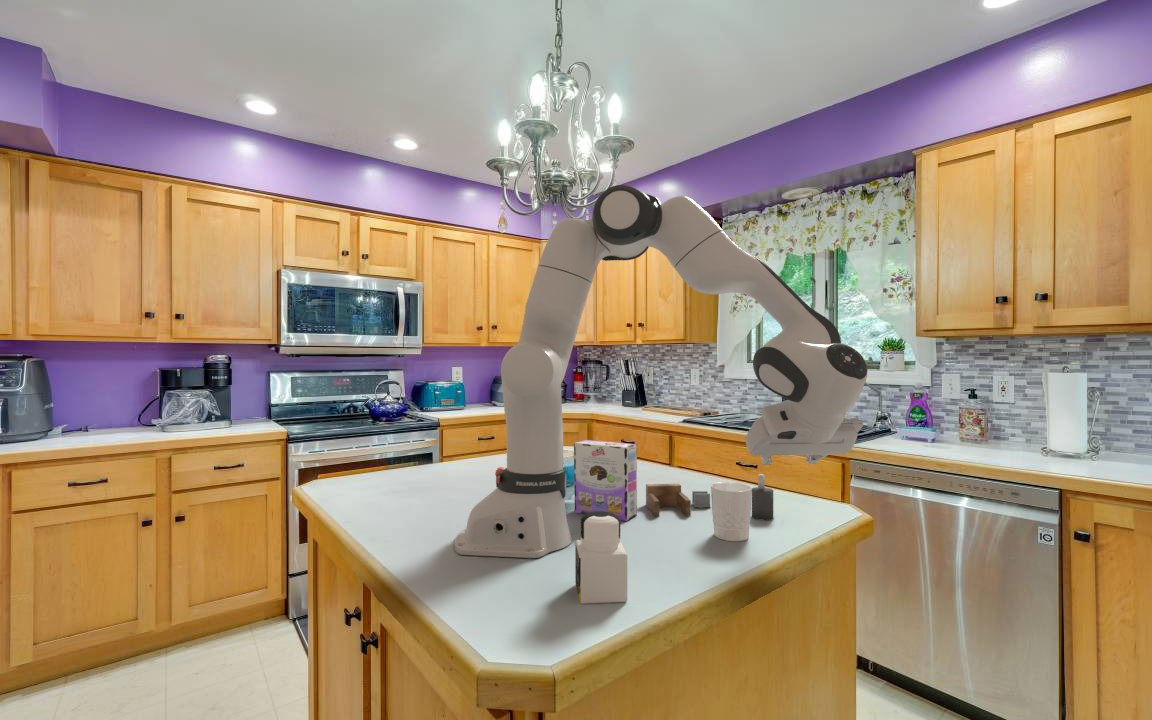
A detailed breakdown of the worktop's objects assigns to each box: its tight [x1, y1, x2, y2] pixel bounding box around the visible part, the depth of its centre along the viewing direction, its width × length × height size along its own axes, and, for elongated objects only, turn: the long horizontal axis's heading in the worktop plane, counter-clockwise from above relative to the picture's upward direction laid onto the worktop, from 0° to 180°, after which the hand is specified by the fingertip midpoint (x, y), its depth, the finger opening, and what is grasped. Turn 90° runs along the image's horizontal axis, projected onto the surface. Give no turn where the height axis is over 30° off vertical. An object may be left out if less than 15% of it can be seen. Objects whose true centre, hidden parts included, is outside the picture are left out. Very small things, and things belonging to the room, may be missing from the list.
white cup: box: [710, 481, 753, 542], centre depth 107 cm, size 8×8×10 cm
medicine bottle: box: [574, 511, 628, 605], centre depth 81 cm, size 7×7×12 cm
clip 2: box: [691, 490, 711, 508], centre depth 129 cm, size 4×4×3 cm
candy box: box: [573, 439, 638, 522], centre depth 123 cm, size 14×6×16 cm, turn 58°
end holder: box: [645, 483, 692, 518], centre depth 126 cm, size 8×10×5 cm
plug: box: [751, 473, 774, 521], centre depth 120 cm, size 5×5×9 cm
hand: (787, 462), depth 108 cm, fingers open, 8 cm apart
